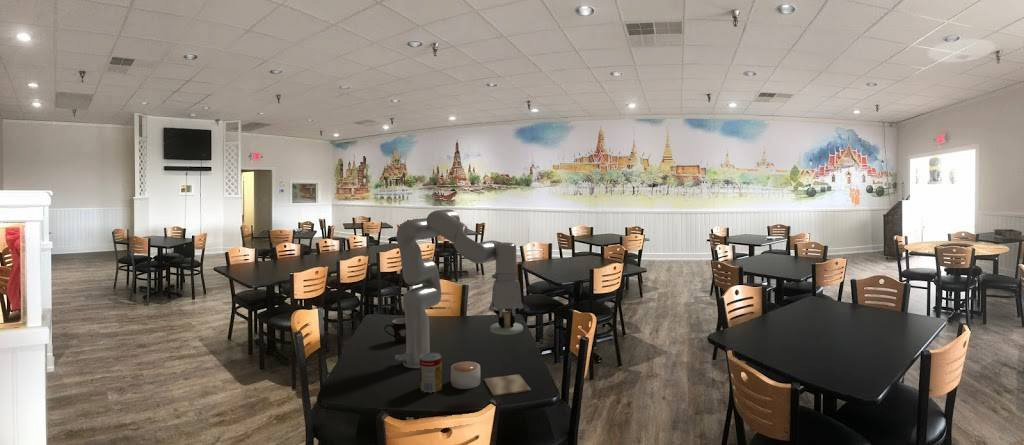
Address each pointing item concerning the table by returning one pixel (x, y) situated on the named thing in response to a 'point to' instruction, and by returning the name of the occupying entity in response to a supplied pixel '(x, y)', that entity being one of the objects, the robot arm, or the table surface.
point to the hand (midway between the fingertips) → (506, 326)
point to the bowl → (465, 375)
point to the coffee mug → (398, 330)
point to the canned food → (431, 372)
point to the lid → (506, 326)
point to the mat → (506, 385)
